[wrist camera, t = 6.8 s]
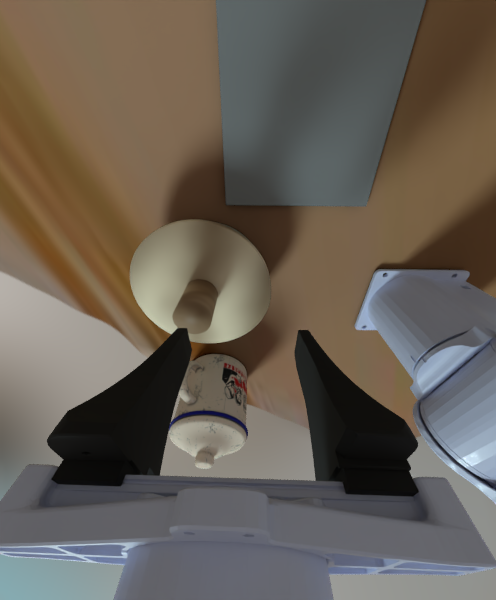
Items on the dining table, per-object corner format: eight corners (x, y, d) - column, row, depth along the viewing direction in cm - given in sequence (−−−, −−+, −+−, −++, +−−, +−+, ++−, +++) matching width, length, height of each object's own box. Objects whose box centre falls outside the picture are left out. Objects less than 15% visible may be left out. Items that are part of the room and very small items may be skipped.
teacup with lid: (258, 382, 33) (260, 475, 23) (207, 395, 35) (189, 485, 26) (222, 328, 27) (205, 424, 17) (163, 348, 29) (119, 442, 20)
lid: (281, 226, 16) (289, 246, 12) (262, 341, 23) (264, 377, 19) (118, 212, 16) (77, 228, 12) (147, 333, 22) (127, 368, 19)
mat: (427, -24, 12) (435, -32, 12) (362, 205, 19) (366, 206, 18) (216, -24, 12) (214, -31, 12) (226, 203, 19) (225, 205, 18)
